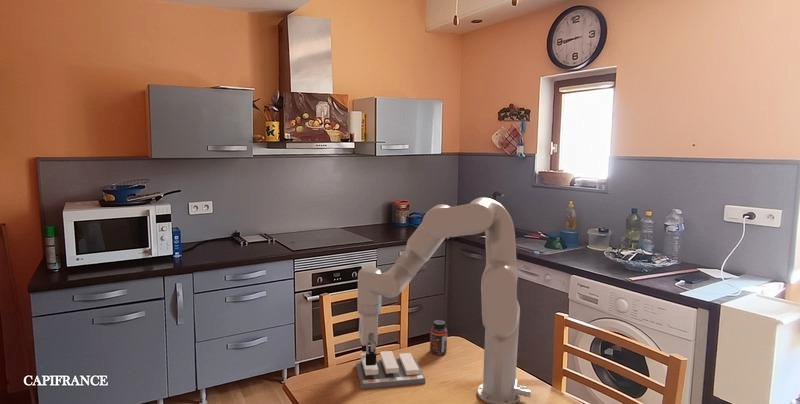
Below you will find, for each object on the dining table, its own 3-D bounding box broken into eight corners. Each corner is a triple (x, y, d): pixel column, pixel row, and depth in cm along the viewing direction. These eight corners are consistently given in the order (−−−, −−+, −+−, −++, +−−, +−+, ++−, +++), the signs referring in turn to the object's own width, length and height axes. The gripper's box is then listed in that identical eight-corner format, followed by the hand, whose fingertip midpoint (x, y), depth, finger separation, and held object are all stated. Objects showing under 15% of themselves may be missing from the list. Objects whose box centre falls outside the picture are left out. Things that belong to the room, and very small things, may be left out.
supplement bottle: (426, 353, 175) (427, 322, 173) (435, 347, 180) (436, 317, 178) (441, 357, 171) (442, 326, 170) (449, 351, 176) (450, 321, 175)
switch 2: (410, 357, 167) (410, 352, 167) (418, 374, 156) (418, 369, 156) (398, 358, 167) (398, 353, 166) (406, 375, 155) (406, 370, 155)
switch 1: (372, 356, 165) (372, 352, 164) (378, 374, 153) (378, 369, 153) (360, 357, 164) (360, 353, 164) (365, 375, 152) (365, 370, 152)
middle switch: (391, 355, 166) (391, 350, 166) (398, 372, 154) (398, 367, 154) (379, 356, 165) (380, 351, 165) (386, 373, 154) (386, 368, 153)
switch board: (414, 361, 169) (414, 356, 168) (425, 383, 154) (425, 377, 154) (355, 365, 164) (355, 361, 164) (361, 388, 150) (361, 383, 150)
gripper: (354, 298, 163) (353, 347, 166) (361, 317, 146) (360, 371, 149) (376, 297, 165) (375, 345, 167) (385, 316, 148) (384, 369, 151)
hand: (368, 357), depth 158 cm, fingers open, 9 cm apart
